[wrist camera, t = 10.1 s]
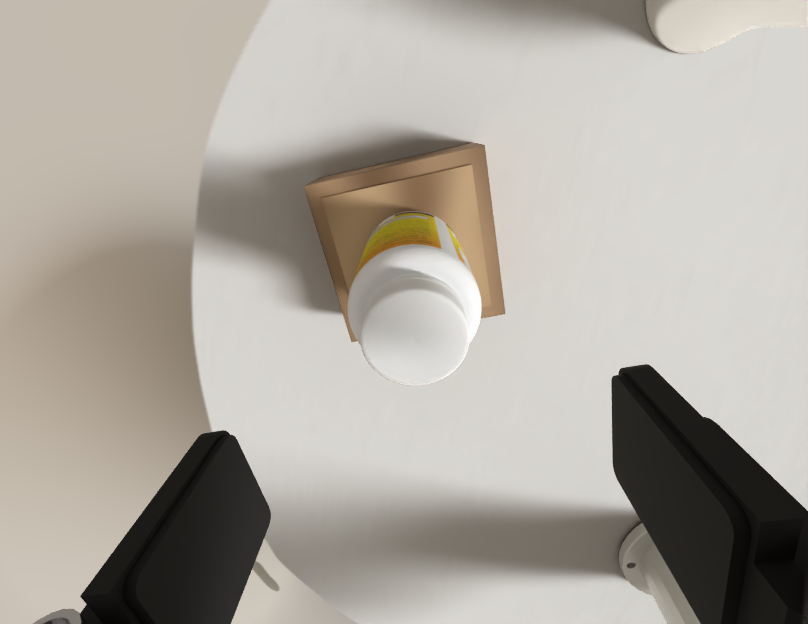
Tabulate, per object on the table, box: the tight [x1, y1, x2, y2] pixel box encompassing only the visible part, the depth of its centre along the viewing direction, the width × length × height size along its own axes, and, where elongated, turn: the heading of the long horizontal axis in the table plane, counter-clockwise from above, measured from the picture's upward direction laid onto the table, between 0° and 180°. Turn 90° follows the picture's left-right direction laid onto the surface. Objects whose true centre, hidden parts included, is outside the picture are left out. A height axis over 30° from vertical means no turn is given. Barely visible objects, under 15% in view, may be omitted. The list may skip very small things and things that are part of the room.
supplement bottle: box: [348, 211, 482, 386], centre depth 19 cm, size 6×6×10 cm
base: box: [304, 143, 505, 342], centre depth 25 cm, size 10×10×4 cm
